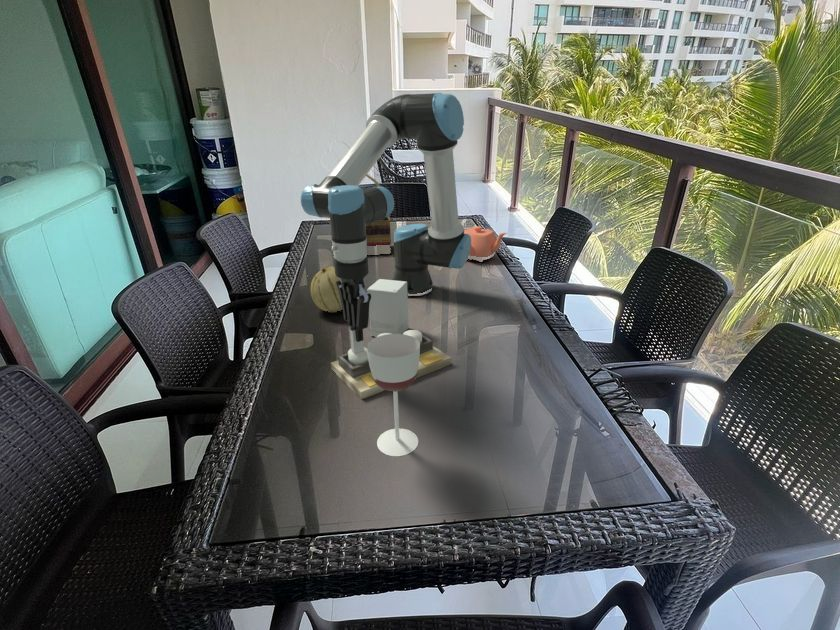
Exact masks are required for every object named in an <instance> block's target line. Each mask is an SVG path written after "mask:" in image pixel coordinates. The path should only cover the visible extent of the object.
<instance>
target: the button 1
mask: <svg viewBox="0 0 840 630" xmlns="http://www.w3.org/2000/svg"><path fill="white" fill-rule="evenodd" d="M347 353H348V358H349V363H350V364H351V365H352V366H353V367H355V366H358V365H361V364H364V363H366V362H369V360H368V355H367V348H366V346H364V351H361V352H358V353H355V354H354V353H353V352H352V350H351V348H349V350H348V351H347Z"/></svg>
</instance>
